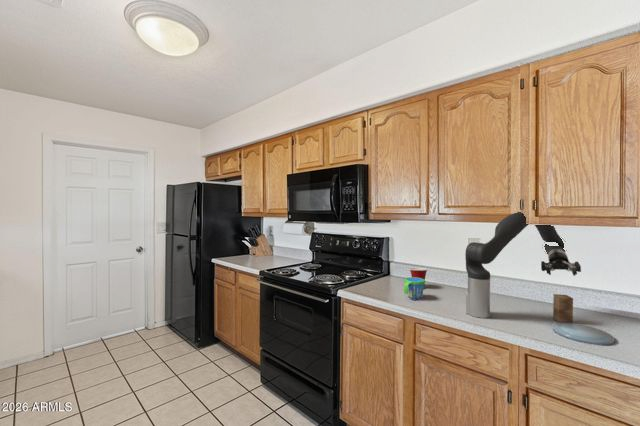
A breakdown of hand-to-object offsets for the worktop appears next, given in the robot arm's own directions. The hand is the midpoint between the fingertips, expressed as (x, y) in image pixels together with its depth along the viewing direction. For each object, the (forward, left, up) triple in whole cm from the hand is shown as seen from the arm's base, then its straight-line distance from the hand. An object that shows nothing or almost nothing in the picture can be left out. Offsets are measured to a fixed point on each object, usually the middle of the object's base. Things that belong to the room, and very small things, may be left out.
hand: (561, 273), depth 133 cm
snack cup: (-62, -13, -21) cm, 67 cm away
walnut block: (+1, -4, -20) cm, 21 cm away
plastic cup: (-69, +9, -21) cm, 73 cm away
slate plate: (+7, -17, -20) cm, 27 cm away
